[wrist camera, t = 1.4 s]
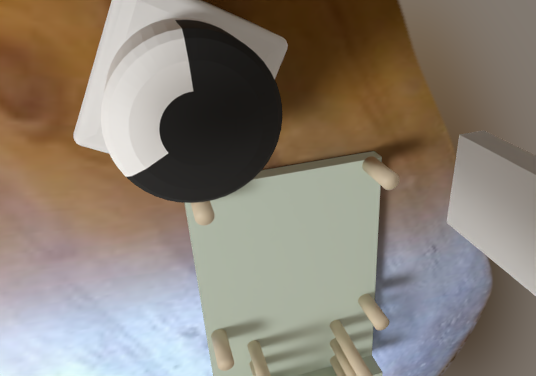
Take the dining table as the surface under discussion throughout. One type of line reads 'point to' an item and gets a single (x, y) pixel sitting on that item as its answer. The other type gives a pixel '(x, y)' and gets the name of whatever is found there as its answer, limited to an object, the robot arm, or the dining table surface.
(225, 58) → the container
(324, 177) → the dish rack
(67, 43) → the dining table surface
